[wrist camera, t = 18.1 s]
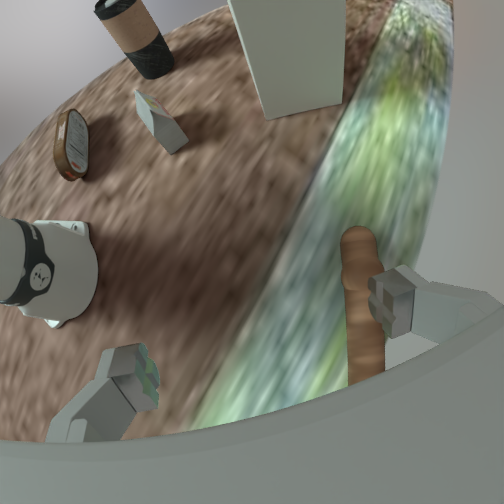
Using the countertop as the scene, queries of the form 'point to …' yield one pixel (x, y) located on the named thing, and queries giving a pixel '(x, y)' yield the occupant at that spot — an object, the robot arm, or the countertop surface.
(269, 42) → the gray stand
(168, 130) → the small grey carton
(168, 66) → the travel mug
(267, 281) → the countertop surface
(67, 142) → the tin
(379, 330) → the wooden turned rod
